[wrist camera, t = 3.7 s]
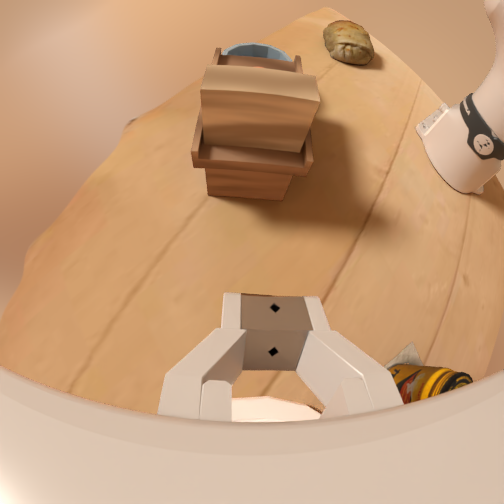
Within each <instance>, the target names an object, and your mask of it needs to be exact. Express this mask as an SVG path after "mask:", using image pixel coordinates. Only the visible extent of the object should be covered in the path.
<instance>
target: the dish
mask: <svg viewBox="0 0 504 504" xmlns="http://www.w3.org/2000/svg"><path fill="white" fill-rule="evenodd" d="M320 416H321V413H319V412H317V411H316V410H314V409H312V408H311V407H309V406H307V405H306V404H302V403H297V402H292V401H288V400H283V399H279V398H274V397H270V396H264V397H249V398H232V422H284V421H302V420H314V419H319V417H320Z"/></svg>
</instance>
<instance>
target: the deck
mask: <svg viewBox="0 0 504 504" xmlns="http://www.w3.org/2000/svg"><path fill="white" fill-rule="evenodd" d="M212 65H230V66H246V67H263V68H266V69H275V70H282V71H289V72H295V73H301V74H303V70H302V64H301V58H300V56H297V55H296V56H295V60H294V62H291V61H284V60H277V59H269V58H260V57H250V56H236V55H221V48H216V51H215V54H214V58H213V61H212ZM191 155H192V161H193V167H194V168H205V172H206V182H207V191H208V195H212V196H228V197H242V198H255V199H267V200H278V201H282V200H283V198H284V195H285V193H286V191H287V188H288V186H289V184H290V181H291V179H292V177H293V176H301V177H306V176H307V174H308V172H309V170H310V168H311V166H312V164H313V151H312V141H311V131H310V128H309V131H308V133H307V136H306V138H305V141H304V143H303V146H302V148H301V150H300V153H297V152H290V151H281V150H273V149H263V148H252V147H240V146H225V145H205V144H204V135H203V122H202V108H201V107H200V112H199V116H198V120H197V125H196V129H195V134H194V139H193V143H192V148H191Z"/></svg>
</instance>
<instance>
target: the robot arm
mask: <svg viewBox="0 0 504 504" xmlns="http://www.w3.org/2000/svg"><path fill="white" fill-rule="evenodd" d="M484 6H485V10H486V13H487V16H488V18H489V20H490V23H491V25H492V28H493V31H494V35H495V40H496V56H495V61H494V64H493V66H492V69H491V70H490V72H489V74H488V75H487V77H486V78H485V80H484V81H483V82H482V84H481V85H480V86H479V88H478V89H477V90H476V91H475V92H474V93H471V94H469V95H468V96H466V97H465V98H464V100H463V101H462V102H461V103H460V104H455V105H454V106H453V107H451V108H449V106H448V105H447V104H446V103H443V104H442V105H441V106H440V108H439V109H438V110H436V111H435V112H434V113H432V114H431V115H430V116H428V117H427V118H426V119H424V120H423V121H422V122H421V123H419V124H418V125H417V126H416V131H417V133H418V134H419V136H420V137H421V139H422V141H423V143H424V146H425V149H426V152H427V154H428V157H429V159H430V161H431V162H432V164H433V166H434V167H435V169H436V170H437V171H438V173H439V174H440V175H441V176H442V178H443V179H444V180H445V181H446V182H447V183H448V184H449V185H451V186H452V187H453V188H454V189H456V190H458V191H460V192H462V193H471V192H474V193H476V194H478V195H481V194H482V193H483V191H484V187H483V185H484V184H485V183H486V182H487V181H489V180H490V179H491V178H492V177H493V176H494V175H495V174H497V173H498V172H499V171H500V169H501V160H503V159H504V0H484ZM242 370H282V371H295V372H296V373H297V374H298V376H299V377H300V378H301V379H302V380H303V381H304V383H305V384H306V385H307V386H308V387H309V388H310V390H311V391H312V392H313V393H314V394H315V395H316V396H317V398H318V399H319V400H320V401H321V402H322V403H323V404H324V406H325V407H326V408H325V410H324V411H323V413H322V414H321V416H320V417H319V419H314V420H302V421H284V422H232V385H233V383H234V382H235V381H236V379H237V378H238V377H239V375H240V374H241V372H242ZM0 504H504V369H503V370H501V371H499V372H497V373H494V374H492V375H490V376H488V377H485V378H483V379H480V380H478V381H475V382H473V383H470V384H468V385H465V386H463V387H460V388H457V389H454V390H451V391H448V392H446V393H442V394H439V395H436V396H433V397H430V398H426V399H423V400H419V401H416V402H412V403H408V404H404V403H403V401H402V398H401V396H400V394H399V391H398V389H397V386H396V384H395V382H394V379H393V377H392V375H391V373H390V372H389V371H388V370H387V369H385V368H384V367H383V366H382V365H380V364H379V363H378V362H376V361H375V360H374V359H372V358H371V357H370V356H368V355H367V354H366V353H364V352H363V351H362V350H360V349H359V348H358V347H357V346H355V345H354V344H353V343H351V342H350V341H349V340H347V339H346V338H345V337H343V336H342V335H341V334H340V333H338V332H337V331H336V330H335V331H331V328H330V325H329V323H328V320H327V317H326V315H325V312H324V309H323V306H322V304H321V301H320V299H319V297H318V296H302V297H298V296H272V295H259V294H245V293H241V294H240V293H229V292H224V297H223V310H222V323H221V328H216V329H215V330H213V331H212V332H211V333H210V334H209V335H208V336H207V337H206V338H205V339H204V340H203V341H202V342H200V343H199V344H198V345H197V346H196V347H195V348H194V349H193V350H192V351H191V352H190V353H188V354H187V355H186V356H185V357H184V358H183V359H182V360H181V361H180V362H178V363H177V364H176V365H175V366H174V367H173V368H172V369H171V370H170V371H168V372H167V373H166V374H165V379H164V384H163V388H162V393H161V398H160V403H159V408H158V413H157V414H152V413H146V412H141V411H136V410H131V409H126V408H121V407H117V406H113V405H109V404H105V403H101V402H97V401H93V400H90V399H86V398H83V397H79V396H76V395H73V394H70V393H67V392H64V391H61V390H58V389H55V388H52V387H50V386H47V385H44V384H42V383H39V382H37V381H34V380H32V379H29V378H27V377H25V376H22V375H20V374H18V373H16V372H13V371H11V370H9V369H7V368H5V367H3V366H1V365H0Z"/></svg>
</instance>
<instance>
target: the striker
mask: <svg viewBox="0 0 504 504" xmlns="http://www.w3.org/2000/svg"><path fill="white" fill-rule="evenodd" d="M200 93H201V108H202V122H203V135H204V144H205V145H225V146H240V147H252V148H263V149H273V150H281V151H290V152H297V153H300V150H301V148H302V146H303V143H304V141H305V138H306V136H307V133H308V131H309V128H310V126H311V123H312V121H313V119H314V116H315V114H316V111H317V109H318V106H319V104H320V97H319V92H318V86H317V81H316V76H312V75H307V74H301V73H295V72H289V71H282V70H275V69H266V68H257V67H246V66H230V65H207V68H206V71H205V74H204V78H203V81H202V85H201V89H200Z"/></svg>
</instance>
